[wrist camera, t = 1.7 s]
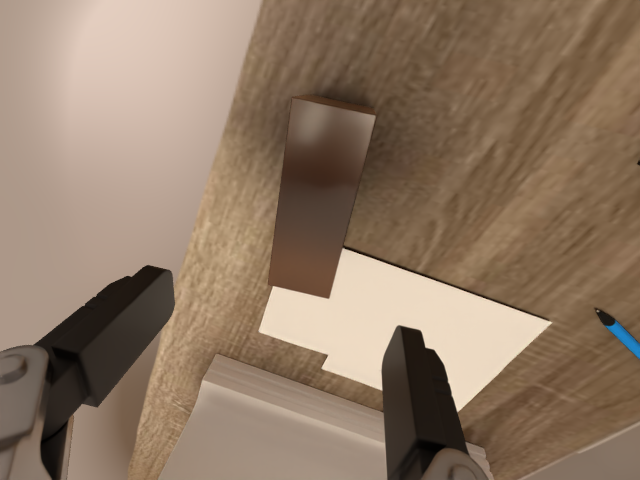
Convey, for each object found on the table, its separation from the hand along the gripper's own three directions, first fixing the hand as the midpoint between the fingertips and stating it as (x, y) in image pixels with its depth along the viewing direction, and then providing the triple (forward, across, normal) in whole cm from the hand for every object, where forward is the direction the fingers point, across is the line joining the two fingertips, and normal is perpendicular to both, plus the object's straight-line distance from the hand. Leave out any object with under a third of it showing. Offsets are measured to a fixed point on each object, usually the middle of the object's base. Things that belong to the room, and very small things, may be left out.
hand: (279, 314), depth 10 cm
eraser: (+14, 0, 0) cm, 14 cm away
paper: (+15, -9, +14) cm, 22 cm away
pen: (+15, -33, +10) cm, 37 cm away
